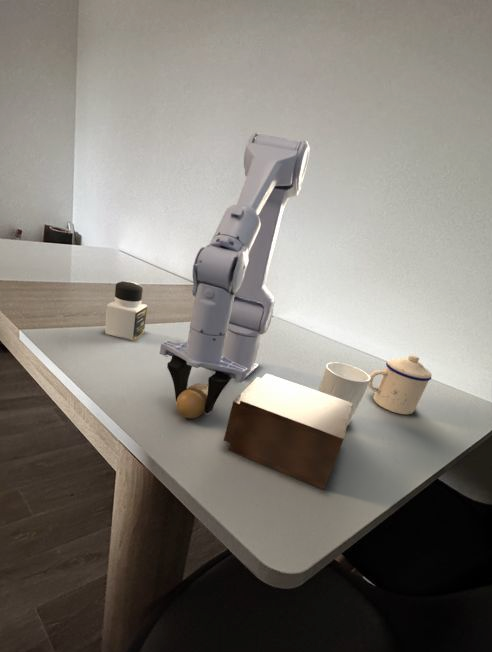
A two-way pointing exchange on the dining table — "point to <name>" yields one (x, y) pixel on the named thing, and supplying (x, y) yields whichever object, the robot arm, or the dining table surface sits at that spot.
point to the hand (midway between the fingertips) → (193, 405)
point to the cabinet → (291, 429)
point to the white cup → (345, 383)
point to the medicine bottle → (126, 312)
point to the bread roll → (192, 401)
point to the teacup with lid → (401, 384)
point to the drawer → (236, 411)
